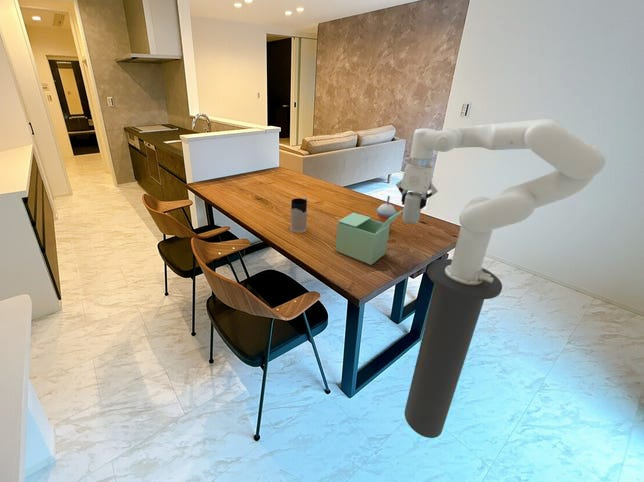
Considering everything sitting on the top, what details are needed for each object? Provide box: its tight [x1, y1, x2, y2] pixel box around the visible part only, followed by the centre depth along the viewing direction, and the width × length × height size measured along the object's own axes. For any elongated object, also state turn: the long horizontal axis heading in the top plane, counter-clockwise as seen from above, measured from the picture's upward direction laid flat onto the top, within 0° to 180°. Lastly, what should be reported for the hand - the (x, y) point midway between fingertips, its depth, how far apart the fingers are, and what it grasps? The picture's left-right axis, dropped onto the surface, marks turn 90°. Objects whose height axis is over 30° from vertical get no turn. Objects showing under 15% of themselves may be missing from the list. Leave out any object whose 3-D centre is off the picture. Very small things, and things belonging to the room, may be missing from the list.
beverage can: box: [401, 191, 423, 225], centre depth 120 cm, size 6×6×12 cm
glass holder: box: [289, 197, 308, 234], centre depth 148 cm, size 9×14×15 cm, turn 152°
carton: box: [335, 212, 391, 266], centre depth 125 cm, size 17×13×14 cm
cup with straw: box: [376, 195, 397, 232], centre depth 144 cm, size 9×9×18 cm
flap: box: [376, 209, 403, 233], centre depth 114 cm, size 8×13×1 cm
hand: (412, 205), depth 120 cm, fingers closed on beverage can, 6 cm apart
